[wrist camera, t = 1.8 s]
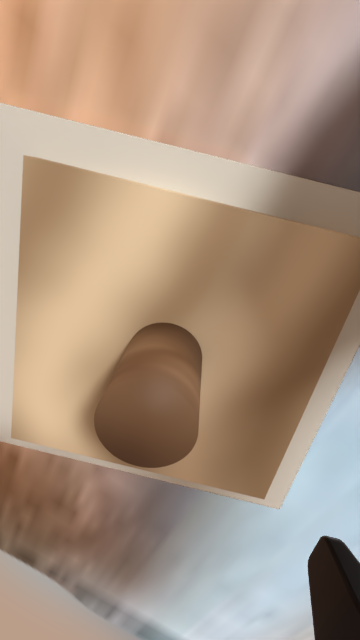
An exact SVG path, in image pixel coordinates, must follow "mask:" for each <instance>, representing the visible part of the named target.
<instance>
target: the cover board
mask: <svg viewBox="0 0 360 640" xmlns="http://www.w3.org/2000/svg"><path fill="white" fill-rule="evenodd" d="M359 291H360V237H356V236H352V235H348V234H344V233H340V232H336V231H332V230H328V229H324V228H320V227H316V226H312V225H308V224H304V223H300V222H296V221H292V220H288V219H284V218H280V217H276V216H272V215H268V214H263V213H259V212H255V211H251V210H247V209H243V208H239V207H235V206H231V205H227V204H223V203H219V202H215V201H211V200H207V199H203V198H199V197H195V196H191V195H187V194H183V193H179V192H175V191H171V190H167V189H163V188H159V187H155V186H151V185H147V184H143V183H139V182H135V181H131V180H126V179H122V178H118V177H114V176H110V175H106V174H102V173H98V172H94V171H90V170H86V169H82V168H78V167H74V166H70V165H66V164H62V163H58V162H54V161H50V160H46V159H42V158H38V157H32V156H26V155H23V174H22V197H21V220H20V243H19V266H18V289H17V312H16V335H15V358H14V381H13V404H12V427H11V438H14V439H18V440H22V441H26V442H30V443H34V444H38V445H42V446H46V447H50V448H55V449H59V450H63V451H67V452H71V453H75V454H79V455H83V456H87V457H92V458H96V459H100V460H104V461H108V462H112V463H116V464H120V465H124V466H129V467H133V468H137V469H141V470H145V471H149V472H153V473H157V474H161V475H165V476H170V477H174V478H178V479H182V480H186V481H190V482H194V483H198V484H202V485H207V486H211V487H215V488H219V489H223V490H227V491H231V492H235V493H239V494H243V495H248V496H252V497H256V498H260V499H265V497H266V495H267V492H268V490H269V488H270V486H271V484H272V481H273V479H274V477H275V475H276V473H277V470H278V468H279V466H280V464H281V462H282V459H283V457H284V455H285V453H286V451H287V448H288V446H289V444H290V442H291V440H292V438H293V435H294V433H295V431H296V429H297V427H298V424H299V422H300V420H301V418H302V416H303V413H304V411H305V409H306V407H307V405H308V402H309V400H310V398H311V396H312V394H313V391H314V389H315V387H316V385H317V383H318V381H319V378H320V376H321V374H322V372H323V370H324V367H325V365H326V363H327V361H328V359H329V356H330V354H331V352H332V350H333V348H334V345H335V343H336V341H337V339H338V337H339V334H340V332H341V330H342V328H343V326H344V324H345V321H346V319H347V317H348V315H349V313H350V310H351V308H352V306H353V304H354V302H355V299H356V297H357V295H358V293H359Z"/></svg>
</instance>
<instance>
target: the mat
mask: <svg viewBox="0 0 360 640" xmlns="http://www.w3.org/2000/svg"><path fill="white" fill-rule="evenodd" d="M23 155H26V156H32V157H38V158H42V159H46V160H50V161H54V162H58V163H62V164H66V165H70V166H74V167H78V168H82V169H86V170H90V171H94V172H98V173H102V174H106V175H110V176H114V177H118V178H122V179H126V180H131V181H135V182H139V183H143V184H147V185H151V186H155V187H159V188H163V189H167V190H171V191H175V192H179V193H183V194H187V195H191V196H195V197H199V198H203V199H207V200H211V201H215V202H219V203H223V204H227V205H231V206H235V207H239V208H243V209H247V210H251V211H255V212H259V213H263V214H268V215H272V216H276V217H280V218H284V219H288V220H292V221H296V222H300V223H304V224H308V225H312V226H316V227H320V228H324V229H328V230H332V231H336V232H340V233H344V234H348V235H352V236H356V237H360V192H357V191H353V190H349V189H345V188H341V187H337V186H333V185H329V184H325V183H321V182H317V181H312V180H308V179H304V178H300V177H296V176H292V175H288V174H284V173H280V172H276V171H272V170H268V169H264V168H260V167H256V166H252V165H248V164H244V163H240V162H236V161H232V160H228V159H224V158H220V157H216V156H212V155H208V154H204V153H200V152H196V151H192V150H188V149H184V148H180V147H176V146H172V145H168V144H164V143H160V142H156V141H152V140H148V139H144V138H140V137H136V136H132V135H128V134H124V133H120V132H116V131H112V130H108V129H104V128H100V127H96V126H92V125H87V124H83V123H79V122H75V121H71V120H67V119H63V118H59V117H55V116H51V115H47V114H43V113H39V112H35V111H31V110H27V109H23V108H19V107H15V106H11V105H7V104H3V103H0V442H5V443H9V444H13V445H17V446H21V447H25V448H29V449H33V450H37V451H42V452H46V453H50V454H54V455H58V456H62V457H66V458H70V459H74V460H79V461H83V462H87V463H91V464H95V465H99V466H103V467H107V468H111V469H116V470H120V471H124V472H128V473H132V474H136V475H140V476H144V477H148V478H152V479H157V480H161V481H165V482H169V483H173V484H177V485H181V486H185V487H189V488H194V489H198V490H202V491H206V492H210V493H214V494H218V495H222V496H226V497H231V498H235V499H239V500H243V501H247V502H251V503H255V504H259V505H263V506H267V507H272V508H276V509H280V507H281V505H282V503H283V501H284V499H285V497H286V495H287V493H288V491H289V489H290V487H291V485H292V483H293V481H294V479H295V477H296V475H297V473H298V471H299V469H300V466H301V464H302V462H303V460H304V458H305V456H306V454H307V452H308V450H309V448H310V446H311V444H312V442H313V440H314V438H315V436H316V434H317V432H318V430H319V428H320V426H321V423H322V421H323V419H324V417H325V415H326V413H327V411H328V409H329V407H330V405H331V403H332V401H333V399H334V397H335V395H336V393H337V391H338V389H339V387H340V385H341V383H342V381H343V378H344V376H345V374H346V372H347V370H348V368H349V366H350V364H351V362H352V360H353V358H354V356H355V354H356V352H357V350H358V348H359V346H360V291H359V293H358V295H357V297H356V299H355V302H354V304H353V306H352V308H351V310H350V313H349V315H348V317H347V319H346V321H345V324H344V326H343V328H342V330H341V332H340V334H339V337H338V339H337V341H336V343H335V345H334V348H333V350H332V352H331V354H330V356H329V359H328V361H327V363H326V365H325V367H324V370H323V372H322V374H321V376H320V378H319V381H318V383H317V385H316V387H315V389H314V391H313V394H312V396H311V398H310V400H309V402H308V405H307V407H306V409H305V411H304V413H303V416H302V418H301V420H300V422H299V424H298V427H297V429H296V431H295V433H294V435H293V438H292V440H291V442H290V444H289V446H288V448H287V451H286V453H285V455H284V457H283V459H282V462H281V464H280V466H279V468H278V470H277V473H276V475H275V477H274V479H273V481H272V484H271V486H270V488H269V490H268V492H267V495H266V497H265V499H260V498H256V497H252V496H248V495H243V494H239V493H235V492H231V491H227V490H223V489H219V488H215V487H211V486H207V485H202V484H198V483H194V482H190V481H186V480H182V479H178V478H174V477H170V476H165V475H161V474H157V473H153V472H149V471H145V470H141V469H137V468H133V467H129V466H124V465H120V464H116V463H112V462H108V461H104V460H100V459H96V458H92V457H87V456H83V455H79V454H75V453H71V452H67V451H63V450H59V449H55V448H50V447H46V446H42V445H38V444H34V443H30V442H26V441H22V440H18V439H14V438H11V427H12V404H13V381H14V358H15V335H16V312H17V289H18V266H19V243H20V220H21V197H22V174H23Z"/></svg>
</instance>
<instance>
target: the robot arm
mask: <svg viewBox="0 0 360 640" xmlns="http://www.w3.org/2000/svg"><path fill="white" fill-rule="evenodd" d="M308 576H309V586H310V596H311V606H312V616H313V626H314V636H315V640H360V563H359V561H358V560H357V559H356V558H355V556H354V555H353V554H352V552H351V551H350V550H349V549H348V547H347V546H346V545H345V544H344V542H342V541H341V540H340V539H337V538H333V537H329V536H322V537H321V538H320V539H319V541H318V543H317V545H316V546H315V548H314V550H313V551H312V553H311V555H310V557H309V560H308Z"/></svg>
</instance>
